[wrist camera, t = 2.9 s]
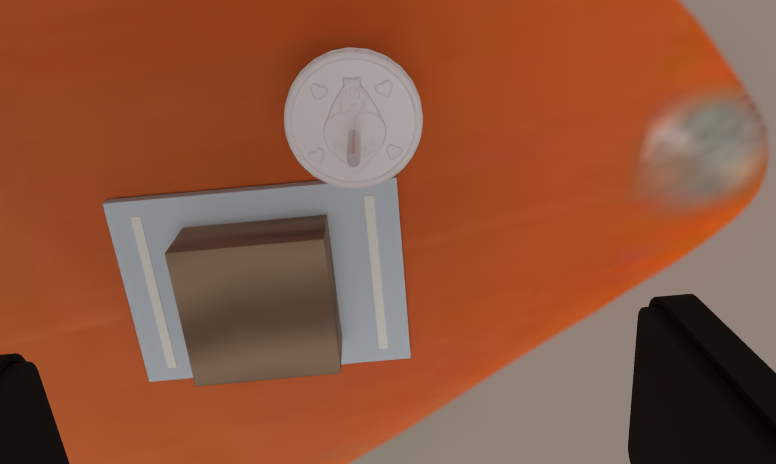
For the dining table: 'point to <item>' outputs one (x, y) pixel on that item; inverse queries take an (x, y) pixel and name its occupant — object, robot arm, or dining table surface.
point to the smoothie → (353, 118)
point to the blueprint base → (259, 208)
